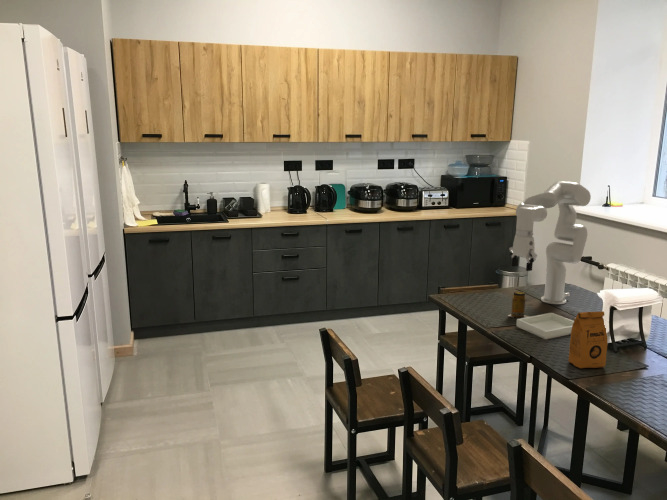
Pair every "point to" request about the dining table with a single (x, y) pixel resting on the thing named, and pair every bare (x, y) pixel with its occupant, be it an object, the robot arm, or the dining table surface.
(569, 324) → the tray
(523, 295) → the condiment
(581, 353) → the coffee package
